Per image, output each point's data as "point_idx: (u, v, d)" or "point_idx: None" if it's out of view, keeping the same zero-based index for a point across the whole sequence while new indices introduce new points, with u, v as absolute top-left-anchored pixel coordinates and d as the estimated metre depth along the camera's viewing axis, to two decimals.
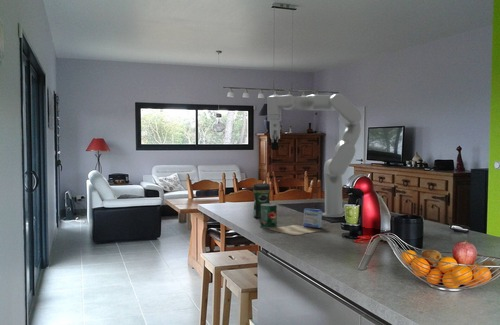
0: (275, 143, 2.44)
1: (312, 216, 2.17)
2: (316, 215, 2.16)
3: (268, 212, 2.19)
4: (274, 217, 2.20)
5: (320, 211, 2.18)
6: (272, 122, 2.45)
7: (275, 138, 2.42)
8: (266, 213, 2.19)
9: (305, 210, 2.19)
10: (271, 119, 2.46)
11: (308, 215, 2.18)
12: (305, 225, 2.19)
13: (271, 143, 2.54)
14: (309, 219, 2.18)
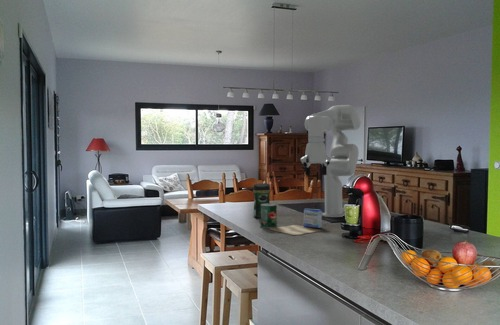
0: None
1: (312, 216, 2.17)
2: (316, 215, 2.16)
3: (268, 212, 2.19)
4: (274, 217, 2.20)
5: (320, 211, 2.18)
6: None
7: None
8: (266, 213, 2.19)
9: (305, 210, 2.19)
10: (323, 142, 2.25)
11: (308, 215, 2.18)
12: (305, 225, 2.19)
13: (309, 168, 2.23)
14: (309, 219, 2.18)
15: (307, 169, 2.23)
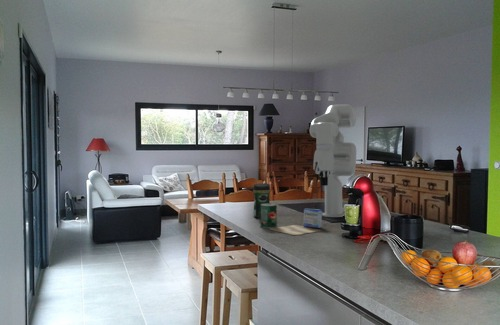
0: None
1: (312, 216, 2.17)
2: (316, 215, 2.16)
3: (268, 212, 2.19)
4: (274, 217, 2.20)
5: (320, 211, 2.18)
6: None
7: None
8: (266, 213, 2.19)
9: (305, 210, 2.19)
10: None
11: (308, 215, 2.18)
12: (305, 225, 2.19)
13: (326, 178, 2.21)
14: (309, 219, 2.18)
15: (323, 179, 2.21)
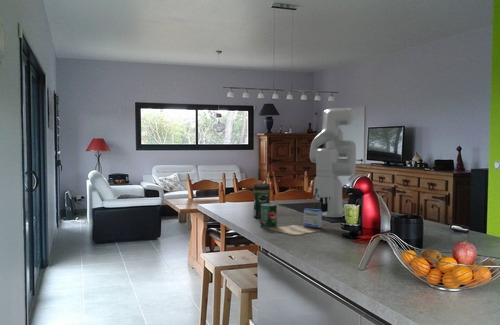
0: None
1: (312, 216, 2.17)
2: (316, 215, 2.16)
3: (268, 212, 2.19)
4: (274, 217, 2.20)
5: (320, 211, 2.18)
6: None
7: None
8: (266, 213, 2.19)
9: (305, 210, 2.19)
10: None
11: (308, 215, 2.18)
12: (305, 225, 2.19)
13: (326, 204, 2.22)
14: (309, 219, 2.18)
15: (323, 205, 2.22)
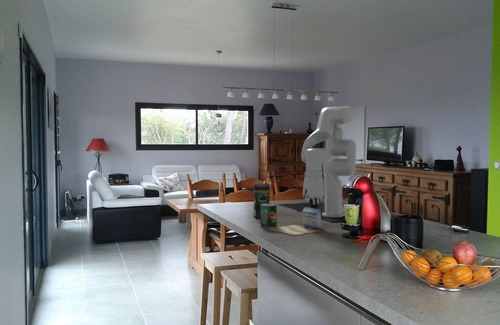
0: None
1: (311, 218, 2.15)
2: (315, 218, 2.14)
3: (268, 212, 2.19)
4: (274, 217, 2.20)
5: (318, 213, 2.14)
6: None
7: None
8: (266, 213, 2.19)
9: (303, 213, 2.15)
10: None
11: (307, 217, 2.16)
12: (305, 225, 2.18)
13: (315, 205, 2.18)
14: (308, 221, 2.16)
15: (313, 206, 2.18)
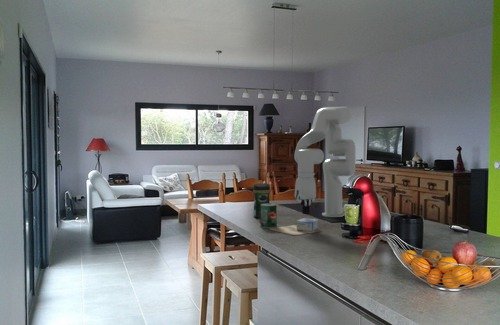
0: None
1: None
2: None
3: (268, 212, 2.19)
4: (274, 217, 2.20)
5: (312, 227, 2.08)
6: None
7: None
8: (266, 213, 2.19)
9: (298, 229, 2.12)
10: (313, 176, 2.16)
11: None
12: None
13: (307, 207, 2.15)
14: None
15: (305, 208, 2.15)
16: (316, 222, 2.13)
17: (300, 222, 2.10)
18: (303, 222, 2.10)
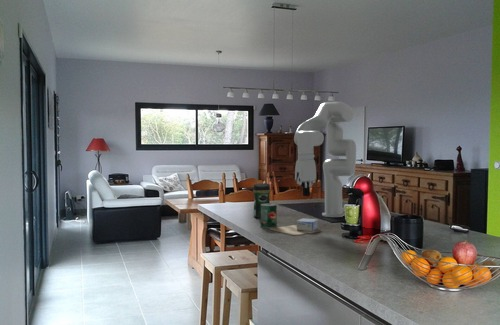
0: None
1: None
2: None
3: (268, 212, 2.19)
4: (274, 217, 2.20)
5: (312, 227, 2.08)
6: None
7: None
8: (266, 213, 2.19)
9: (298, 229, 2.12)
10: None
11: None
12: None
13: (308, 189, 2.15)
14: None
15: (305, 189, 2.15)
16: (316, 222, 2.13)
17: (300, 222, 2.10)
18: (303, 222, 2.10)
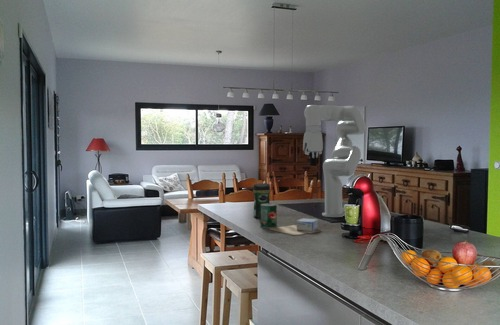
0: None
1: None
2: None
3: (268, 212, 2.19)
4: (274, 217, 2.20)
5: (312, 227, 2.08)
6: None
7: None
8: (266, 213, 2.19)
9: (298, 229, 2.12)
10: None
11: None
12: None
13: (315, 159, 2.30)
14: None
15: (312, 159, 2.30)
16: (316, 222, 2.13)
17: (300, 222, 2.10)
18: (303, 222, 2.10)
